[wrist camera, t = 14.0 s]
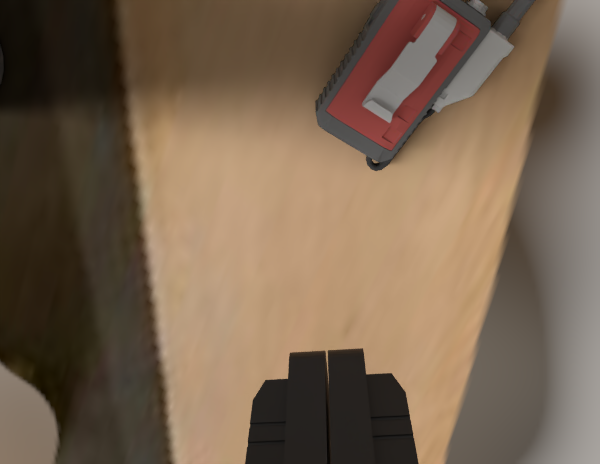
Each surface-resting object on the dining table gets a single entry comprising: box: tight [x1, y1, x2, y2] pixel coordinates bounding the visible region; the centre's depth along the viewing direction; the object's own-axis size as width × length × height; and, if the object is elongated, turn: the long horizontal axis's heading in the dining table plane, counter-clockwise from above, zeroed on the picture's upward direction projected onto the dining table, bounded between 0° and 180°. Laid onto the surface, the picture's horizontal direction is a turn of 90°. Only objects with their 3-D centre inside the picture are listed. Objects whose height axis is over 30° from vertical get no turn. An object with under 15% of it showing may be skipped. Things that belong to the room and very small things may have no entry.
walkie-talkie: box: [316, 0, 535, 171], centre depth 37 cm, size 9×4×20 cm
